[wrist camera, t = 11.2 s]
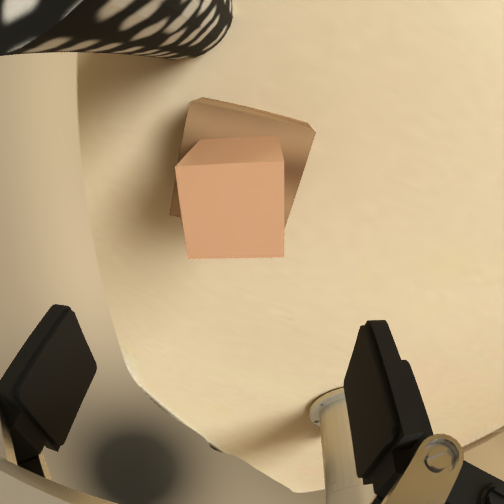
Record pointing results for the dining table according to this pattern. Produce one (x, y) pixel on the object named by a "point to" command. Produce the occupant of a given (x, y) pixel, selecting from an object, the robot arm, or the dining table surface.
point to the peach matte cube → (233, 198)
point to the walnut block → (248, 125)
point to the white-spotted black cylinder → (114, 26)
